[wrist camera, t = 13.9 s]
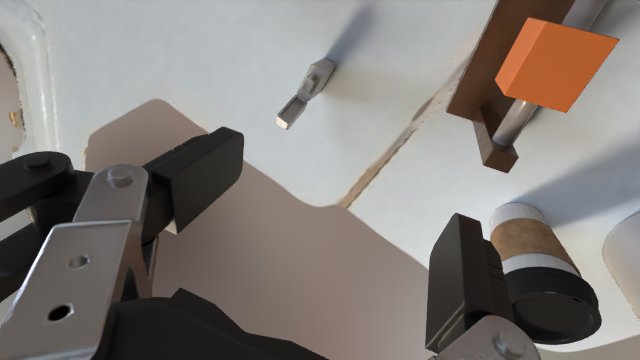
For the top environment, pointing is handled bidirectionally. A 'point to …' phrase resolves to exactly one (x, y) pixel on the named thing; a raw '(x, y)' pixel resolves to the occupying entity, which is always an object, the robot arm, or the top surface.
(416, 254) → the top surface
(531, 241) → the coffee cup
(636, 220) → the cylinder vase
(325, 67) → the lighter
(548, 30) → the clip
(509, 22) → the handle stand
